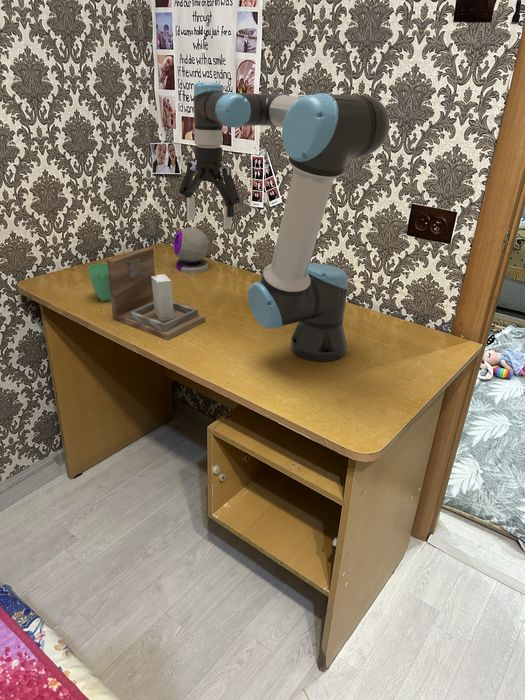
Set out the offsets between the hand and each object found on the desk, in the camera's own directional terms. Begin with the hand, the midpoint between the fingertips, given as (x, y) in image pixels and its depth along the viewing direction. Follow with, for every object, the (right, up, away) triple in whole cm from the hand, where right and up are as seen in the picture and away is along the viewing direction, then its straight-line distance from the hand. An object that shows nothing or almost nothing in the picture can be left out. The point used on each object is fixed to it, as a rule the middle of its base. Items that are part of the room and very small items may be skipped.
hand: (209, 223), depth 153 cm
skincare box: (-14, -27, +2) cm, 30 cm away
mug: (-33, -19, +18) cm, 42 cm away
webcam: (-11, -5, +46) cm, 48 cm away
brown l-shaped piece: (-15, -28, +4) cm, 32 cm away
